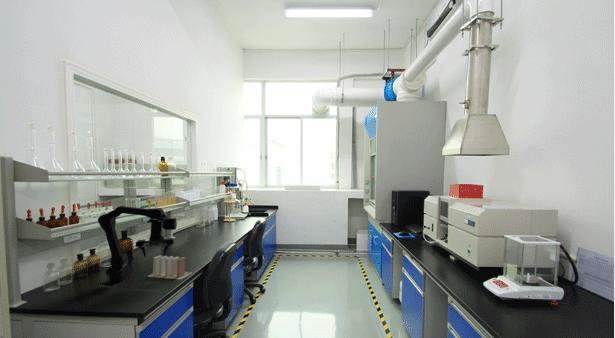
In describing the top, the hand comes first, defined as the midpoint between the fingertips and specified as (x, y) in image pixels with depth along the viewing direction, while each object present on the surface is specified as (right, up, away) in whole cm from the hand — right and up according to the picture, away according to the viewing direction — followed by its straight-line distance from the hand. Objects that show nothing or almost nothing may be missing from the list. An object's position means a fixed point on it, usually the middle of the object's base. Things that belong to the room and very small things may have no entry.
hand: (154, 257), depth 145 cm
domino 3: (+5, -12, +6) cm, 15 cm away
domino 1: (-3, -12, +7) cm, 14 cm away
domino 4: (+9, -12, +5) cm, 16 cm away
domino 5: (+13, -13, +4) cm, 19 cm away
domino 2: (+1, -12, +6) cm, 14 cm away
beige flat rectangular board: (+6, -13, +5) cm, 16 cm away
